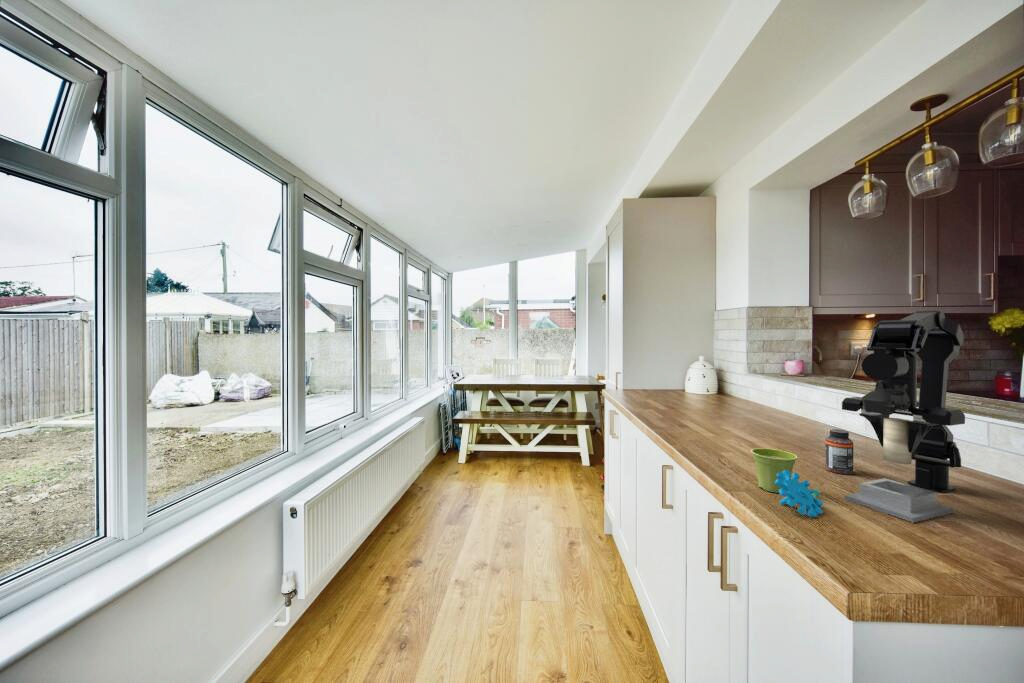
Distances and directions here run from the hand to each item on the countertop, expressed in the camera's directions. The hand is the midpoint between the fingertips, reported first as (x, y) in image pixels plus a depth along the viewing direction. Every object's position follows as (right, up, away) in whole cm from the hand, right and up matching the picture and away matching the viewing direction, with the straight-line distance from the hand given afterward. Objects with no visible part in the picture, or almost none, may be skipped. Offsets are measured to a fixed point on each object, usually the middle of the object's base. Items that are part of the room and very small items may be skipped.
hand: (897, 449), depth 86 cm
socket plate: (0, -12, 0) cm, 12 cm away
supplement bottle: (+6, -12, +22) cm, 26 cm away
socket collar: (0, -11, 0) cm, 11 cm away
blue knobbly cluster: (-23, -13, -2) cm, 26 cm away
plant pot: (-21, -13, +10) cm, 26 cm away
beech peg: (0, -3, 0) cm, 3 cm away
